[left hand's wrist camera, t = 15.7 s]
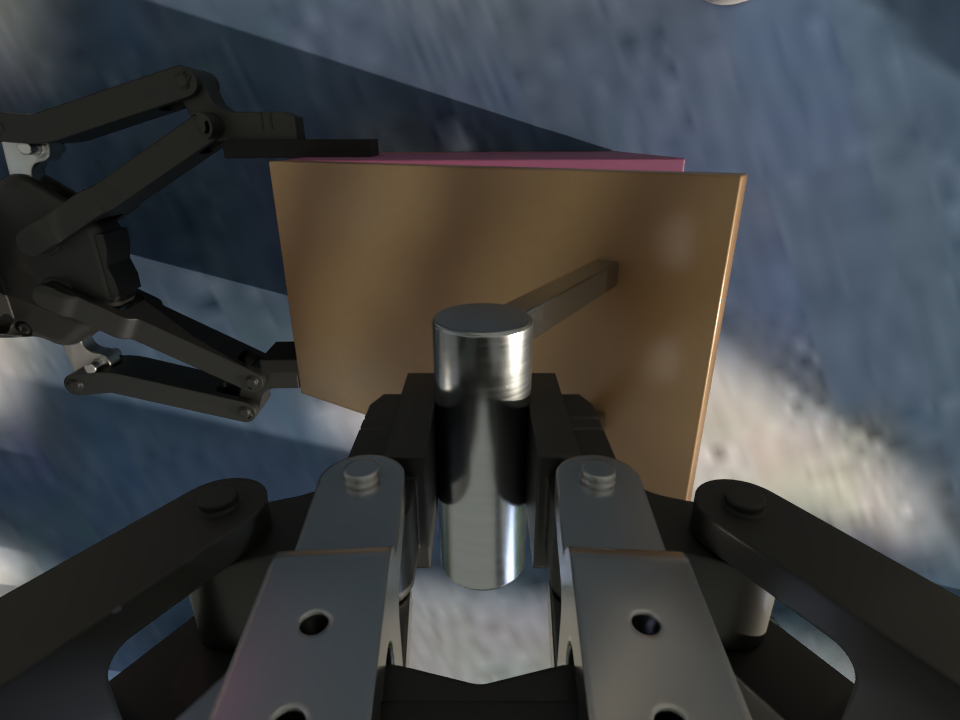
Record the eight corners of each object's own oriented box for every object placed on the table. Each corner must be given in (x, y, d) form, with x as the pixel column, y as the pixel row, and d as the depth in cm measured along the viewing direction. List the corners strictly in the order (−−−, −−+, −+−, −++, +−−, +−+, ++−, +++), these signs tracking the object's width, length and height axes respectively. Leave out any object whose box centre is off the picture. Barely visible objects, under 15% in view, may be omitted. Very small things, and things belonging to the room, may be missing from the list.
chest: (614, 151, 32) (685, 158, 22) (601, 310, 36) (656, 379, 26) (339, 152, 32) (281, 159, 22) (354, 313, 36) (311, 385, 25)
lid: (747, 173, 13) (648, 210, 7) (690, 506, 17) (589, 735, 11) (287, 160, 22) (44, 170, 15) (316, 385, 25) (132, 472, 19)
